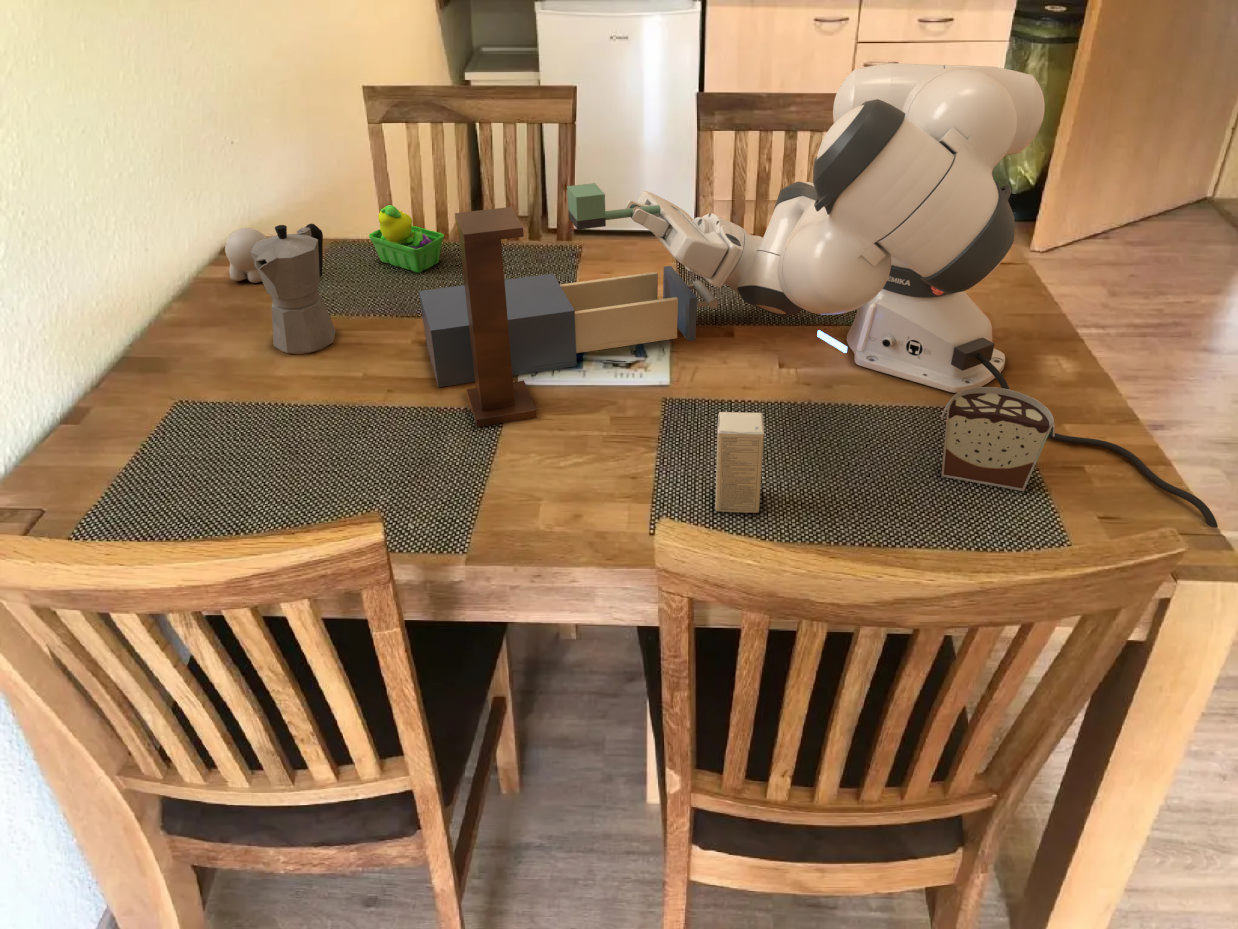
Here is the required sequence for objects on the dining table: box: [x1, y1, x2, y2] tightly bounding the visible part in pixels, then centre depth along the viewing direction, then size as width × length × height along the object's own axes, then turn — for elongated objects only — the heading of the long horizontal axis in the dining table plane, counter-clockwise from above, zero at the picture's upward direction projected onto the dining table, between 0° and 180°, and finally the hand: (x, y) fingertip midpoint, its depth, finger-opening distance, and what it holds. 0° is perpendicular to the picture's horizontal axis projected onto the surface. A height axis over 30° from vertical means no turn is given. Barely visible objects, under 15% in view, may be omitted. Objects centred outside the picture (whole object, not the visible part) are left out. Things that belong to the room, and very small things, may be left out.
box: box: [714, 411, 765, 514], centre depth 110 cm, size 5×4×11 cm
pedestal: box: [454, 206, 538, 428], centre depth 123 cm, size 8×8×26 cm
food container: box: [940, 386, 1056, 492], centre depth 115 cm, size 12×6×10 cm, turn 71°
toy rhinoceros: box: [224, 227, 268, 284], centre depth 162 cm, size 7×12×8 cm, turn 82°
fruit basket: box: [368, 204, 445, 274], centre depth 166 cm, size 11×9×11 cm
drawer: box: [559, 265, 719, 354], centre depth 144 cm, size 23×12×7 cm, turn 106°
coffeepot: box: [251, 223, 337, 355], centre depth 142 cm, size 15×9×18 cm, turn 163°
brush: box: [566, 182, 661, 231], centre depth 134 cm, size 12×5×4 cm, turn 107°
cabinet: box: [418, 273, 578, 388], centre depth 140 cm, size 20×13×9 cm, turn 106°
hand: (630, 209), depth 135 cm, fingers closed on brush
